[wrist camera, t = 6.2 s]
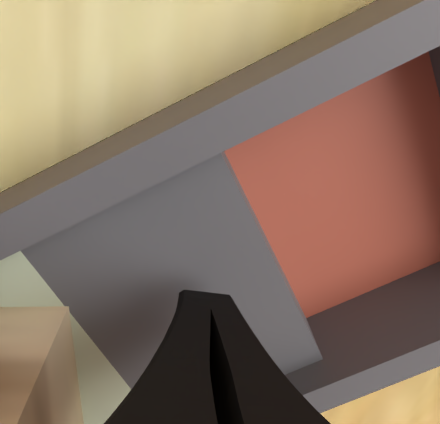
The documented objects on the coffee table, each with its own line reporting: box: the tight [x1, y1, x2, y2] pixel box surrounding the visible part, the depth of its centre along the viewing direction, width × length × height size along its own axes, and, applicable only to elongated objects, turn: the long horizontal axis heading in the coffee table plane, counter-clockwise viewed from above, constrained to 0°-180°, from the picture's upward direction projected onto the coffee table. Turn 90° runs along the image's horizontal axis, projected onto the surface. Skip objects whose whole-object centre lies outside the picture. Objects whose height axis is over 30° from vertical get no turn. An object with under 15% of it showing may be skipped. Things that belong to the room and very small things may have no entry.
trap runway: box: [0, 0, 440, 424], centre depth 13 cm, size 28×10×4 cm, turn 116°
